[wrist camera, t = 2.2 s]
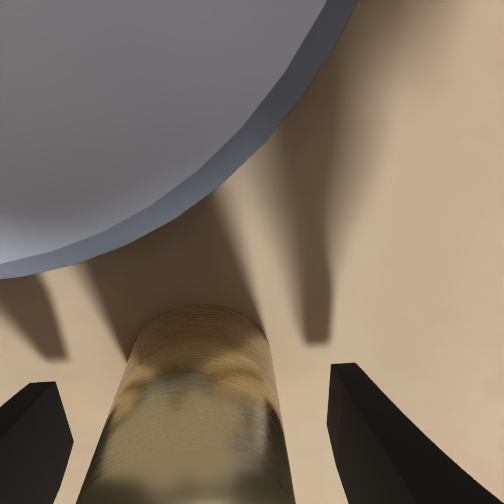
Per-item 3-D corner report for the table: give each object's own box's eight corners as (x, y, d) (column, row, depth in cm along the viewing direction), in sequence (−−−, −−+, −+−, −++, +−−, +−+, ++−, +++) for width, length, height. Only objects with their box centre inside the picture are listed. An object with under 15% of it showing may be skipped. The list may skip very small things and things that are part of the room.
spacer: (271, 300, 10) (301, 447, 6) (272, 411, 12) (296, 587, 8) (120, 308, 10) (43, 466, 6) (142, 420, 11) (94, 605, 7)
